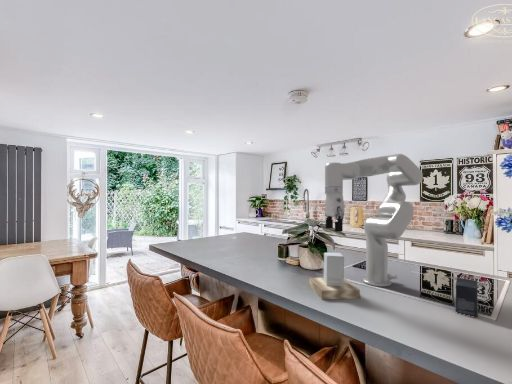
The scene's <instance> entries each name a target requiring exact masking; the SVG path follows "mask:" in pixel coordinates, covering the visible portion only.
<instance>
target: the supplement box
mask: <svg viewBox="0 0 512 384" xmlns="http://www.w3.org/2000/svg"><path fill="white" fill-rule="evenodd" d="M323 278H324V281H325V283H326V285H328V286H344V279H345V256H344V255H343V254H342V253H341V252H324V253H323Z"/></svg>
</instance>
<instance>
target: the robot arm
mask: <svg viewBox="0 0 512 384" xmlns="http://www.w3.org/2000/svg"><path fill="white" fill-rule="evenodd" d="M384 174H387V175H386V184H387V188H388V192H387V194H386V196H385V197H384V198H383V200H382V202H381V203H380V205H379V206H378V208H377V216H370V217H368V218H367V219H366V220H365V221H364V224H363V225H364V226H363V229H364V233H365V241H366V242H365V247H366V248H365V276H364V277H362V279H361V280H362V282H363V283H365V284H366V285H370V286H375V287H381V288H382V287H383V288H384V287H390V286H391V285H392V281H391V280H397V279H398V275H397V274H391V273H388V271H389V270H388V269H389V268H388V267H389V266H388V263H389V262H388V261H389V260H388V259H389V258H388V257H389V254H388V253H389V247H388V243H387V239H388V240H397V239H400V238H401V237H402V235H403V234H404V232H405V231H406V229H407V228H408V226H409V224H410V223H411V221H412V219H413V217H414V213H415V212H414V211H415V210H414V206H413V204H411V203H410V202H408V201H406V198H407V195H406V192H405V191H404V188H403V187H405V186H407V187H408V186H418V185H419V184H421V183H422V181H423V179H424V176H423V172H422V170H421V169H420V168H419V167H418V165H417V164H416V163H414V161H413V160H412V159H411V158H409V157H408V155H407V156H406V155H404V154H403V153H396V154H395V153H394V154H390V155H383V156H377V157H370V158H364V159H360V160H355V161H351V162H343V163H341V162H327V163H326V164H325V166H324V194H325V205H324V206H325V208H324V212H325V229H334V232H336V233H337V232H338V233H339V232H343V229H344V228H343V223H344V217H345V202H344V201H345V200H344V190H343V188H344V187H343V186H344V185H343V183H344V181H346V180H347V181H348V180H349V181H350V180H355V179H358V178H369V177H373V176H379V175H384ZM333 218H334V220H335V222H334V220H333ZM333 227H334V228H333Z"/></svg>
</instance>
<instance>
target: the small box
mask: <svg viewBox="0 0 512 384" xmlns="http://www.w3.org/2000/svg"><path fill="white" fill-rule="evenodd" d="M454 289H455V290H454V294H455V295H454V299H455V301H454V304H455V313H456V312H457V313H456V314H459V313H461V314H460V315H463V314H465V315H464V316H467V315H470V316H469V317H471V316H474V317H473V318H476V317H478V318H479V316H478V315H479V314H478V313H479V311H478V309H479V308H478V307H479V306H478V302H479V300H478V280H474V279H467V278H462V277H461V278H460V277H456V282H455V287H454Z"/></svg>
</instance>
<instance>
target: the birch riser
mask: <svg viewBox="0 0 512 384" xmlns="http://www.w3.org/2000/svg"><path fill="white" fill-rule="evenodd" d="M308 281H309V285H308V286H309V287H310V288H311V289H312V290H313V291H314V293H315V294H316V295H317V296H318V297H319V298H320V300H343V299H345V300H346V299H350V300H351V299H360V298H361V296H360V295H361V291H360V290H361V289H359V288H358V287H357V286H355V284H353V283H351V282H350V281H349V280H347V279H345V278H344V286H328V285H326V283H325V281H324V277H309V280H308Z"/></svg>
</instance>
